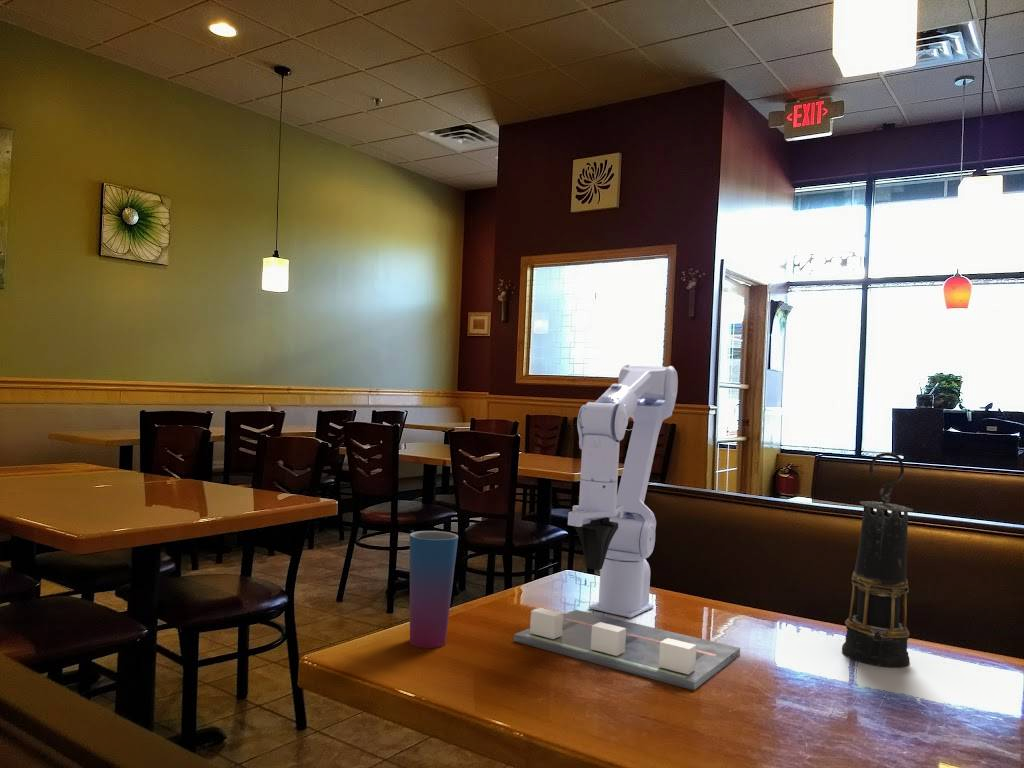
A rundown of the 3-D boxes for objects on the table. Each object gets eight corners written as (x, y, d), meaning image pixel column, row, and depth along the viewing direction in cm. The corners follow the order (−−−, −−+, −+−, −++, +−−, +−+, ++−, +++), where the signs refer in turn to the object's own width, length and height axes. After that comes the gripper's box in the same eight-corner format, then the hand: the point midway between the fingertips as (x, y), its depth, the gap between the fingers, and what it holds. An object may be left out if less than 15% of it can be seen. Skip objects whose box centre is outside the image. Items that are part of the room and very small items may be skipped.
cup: (449, 651, 103) (455, 541, 103) (399, 648, 103) (406, 538, 104) (454, 636, 110) (460, 532, 110) (407, 633, 110) (413, 529, 110)
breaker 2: (666, 662, 101) (667, 637, 101) (695, 669, 98) (696, 644, 98) (658, 666, 99) (660, 642, 99) (688, 674, 96) (689, 649, 96)
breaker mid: (598, 645, 106) (600, 622, 106) (624, 651, 104) (626, 628, 104) (590, 649, 104) (591, 625, 104) (616, 656, 102) (618, 632, 102)
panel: (575, 615, 124) (575, 609, 124) (739, 654, 109) (740, 647, 109) (513, 641, 109) (514, 634, 109) (694, 690, 94) (694, 682, 94)
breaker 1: (538, 629, 112) (539, 607, 112) (562, 635, 110) (563, 613, 110) (529, 632, 110) (530, 610, 110) (553, 639, 108) (554, 616, 108)
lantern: (876, 669, 106) (886, 454, 106) (827, 648, 114) (836, 449, 115) (924, 665, 109) (933, 456, 110) (872, 644, 118) (881, 450, 118)
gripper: (597, 475, 126) (593, 557, 125) (552, 480, 114) (547, 571, 113) (637, 479, 122) (632, 564, 121) (594, 485, 110) (589, 579, 109)
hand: (594, 568), depth 117 cm, fingers closed
